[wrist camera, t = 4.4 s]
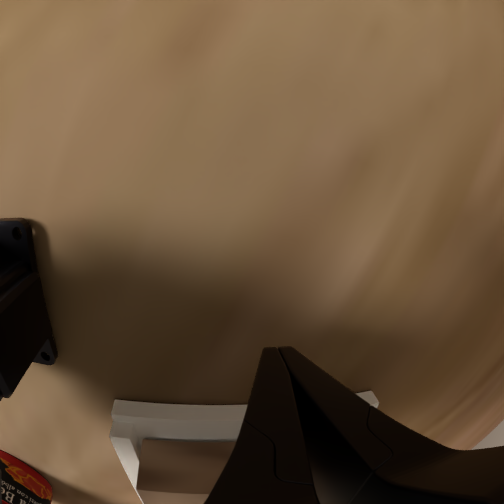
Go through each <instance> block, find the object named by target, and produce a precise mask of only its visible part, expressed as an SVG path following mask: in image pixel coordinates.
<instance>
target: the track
mask: <svg viewBox="0 0 504 504" xmlns="http://www.w3.org/2000/svg"><path fill="white" fill-rule="evenodd" d="M355 394H357V395H358V396H360V397H361V398H362V399H364V400H365V401H367V402H368V403H369V404H370V406H371V405H372V406H374V407H375V408H377V407H378V405H379V401H378V400H377V398H376V396H375V395H374V393H373V392H372V391H366V392H361V393H355ZM247 405H248V404H247ZM247 405H181V404H161V403H147V402H135V401H126V400H117V399H115V401H114V404H113V408H112V411H111V416H112V419H113V423H112V427H111V431H110V435H109V437H110V439H111V441H112V444H113V446H114V448H115V450H116V453H117V455H118V457H119V459H120V461H121V463H122V465H123V467H124V469H125V471H126V473H127V475H128V477H129V479H130V481H131V483H132V485H133V487H134V489H135V490H136V485H137V476H138V468H139V460H140V453H141V446H142V439H150V440H163V441H181V442H236V441H237V438H238V435H239V432H240V429H241V425H242V422H243V419H244V415H245V412H246V408H247ZM136 492H137V490H136ZM137 494H138V492H137ZM138 496H139V494H138ZM139 498H140V496H139ZM140 499H141V498H140ZM141 501H142V499H141ZM142 503H143V501H142ZM143 504H144V503H143Z"/></svg>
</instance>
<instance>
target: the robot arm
mask: <svg viewBox="0 0 504 504" xmlns="http://www.w3.org/2000/svg"><path fill="white" fill-rule="evenodd" d="M18 228H19V229H20V230H21V233H22V237H21V236H20V235H19V234H18V231H17V230H18ZM45 352H46V353H47V354H46V353H45ZM57 357H58V352H57V349H56V346H55V342H54V339H53V336H52V328H51V324H50V321H49V317H48V313H47V309H46V304H45V300H44V295H43V291H42V286H41V281H40V277H39V275H38V270H37V265H36V258H35V252H34V245H33V237H32V230H31V226H30V224H29V222H28V221H27V220H25V219H23V218H1V219H0V401H1V399H2V398H3V397H4V398H9V397H10V396H11V395H12V394H13V392H14V390H15V389H16V387H17V385H18V384H19V382H20V380H21V379H22V377H23V376H24V374H25V372H26V371H27V369H28V368H29V366H30V365H31V363H32V362H35V363H40V364H45V365H53V364H54V363H55V361H56V359H57ZM0 504H2V495H1V470H0ZM204 504H504V446H499V447H493V448H485V449H476V450H455V449H451V448H448V447H446V446H443V445H441V444H439V443H437V442H435V441H433V440H431V439H429V438H427V437H425V436H423V435H421V434H419V433H417V432H415V431H413V430H411V429H409V428H408V427H406V426H404V425H402V424H401V423H399V422H397V421H395V420H394V419H392V418H390V417H389V416H387V415H386V414H384V413H383V412H381V411H380V410H378V409H377V408H375V407H374V406H372V405H371V406H370V404H369V403H368V402H367V401H365V400H364V399H362V398H361V397H360V396H358V395H357V394H355V393H354V392H352V391H351V390H350V389H348V388H347V387H345V386H344V385H343V384H341V383H340V382H339V381H337V380H336V379H334V378H333V377H332V376H330V375H329V374H328V373H326V372H325V371H324V370H322V369H321V368H319V367H318V366H317V365H315V364H314V363H313V362H311V361H310V360H309V359H307V358H306V357H305V356H303V355H302V354H301V353H299V352H298V351H297V350H295V349H294V348H293V347H291V346H287V347H278V348H276V347H265V348H263V350H262V354H261V358H260V362H259V365H258V369H257V373H256V376H255V380H254V383H253V387H252V391H251V394H250V398H249V401H248V405H247V408H246V412H245V415H244V419H243V422H242V425H241V429H240V432H239V435H238V438H237V441H236V443H235V446H234V448H233V451H232V453H231V455H230V457H229V459H228V461H227V463H226V465H225V467H224V469H223V471H222V472H221V474H220V476H219V478H218V480H217V481H216V483H215V485H214V487H213V489H212V490H211V492H210V494H209V496H208V497H207V499H206V501H205V502H204Z"/></svg>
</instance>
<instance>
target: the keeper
mask: <svg viewBox="0 0 504 504" xmlns="http://www.w3.org/2000/svg"><path fill="white" fill-rule="evenodd" d="M235 443H236V442H181V441H163V440H150V439H142V446H141V453H140V460H139V468H138V476H137V485H136V490H137V492H138V494H139V496H140V498H141V499H142V501H143V503H144V504H204V502H205V501H206V499H207V497H208V496H209V494H210V492H211V490H212V489H213V487H214V485H215V483H216V481H217V480H218V478H219V476H220V474H221V472H222V471H223V469H224V467H225V465H226V463H227V461H228V459H229V457H230V455H231V453H232V451H233V448H234V446H235Z"/></svg>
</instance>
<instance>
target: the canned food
mask: <svg viewBox="0 0 504 504" xmlns="http://www.w3.org/2000/svg"><path fill="white" fill-rule="evenodd" d="M0 470H1V495H2V504H51V501H52V497H53V496H52V488H51V486H50V484H49V483H48V482H47V480H46V479H45V478H44V477H42V476H41V475H40V474H39V473H38V472H36V471H35V470H34V469H32V468H31V467H29V466H28V465H26V464H25V463H23V462H22V461H20V460H18V459H17V458H15V457H13V456H12V455H10V454H8V453H6V452H4V451H1V450H0Z"/></svg>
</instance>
